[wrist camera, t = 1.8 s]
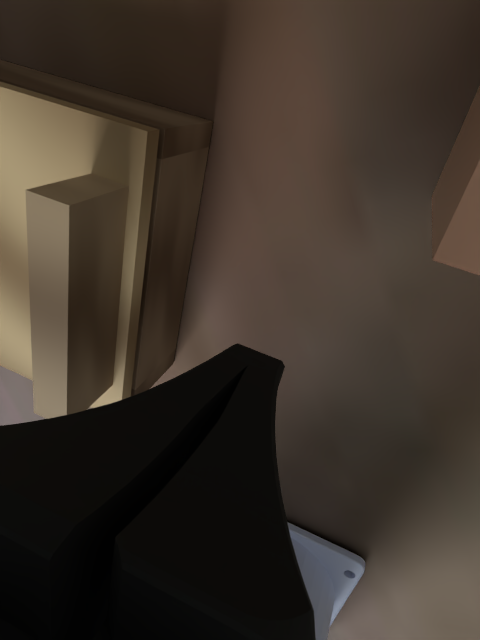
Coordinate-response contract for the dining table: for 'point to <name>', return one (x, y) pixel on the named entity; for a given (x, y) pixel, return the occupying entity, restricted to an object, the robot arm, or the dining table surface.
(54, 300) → the lid
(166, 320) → the walnut box
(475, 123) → the tan cardboard cube
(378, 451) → the dining table surface
